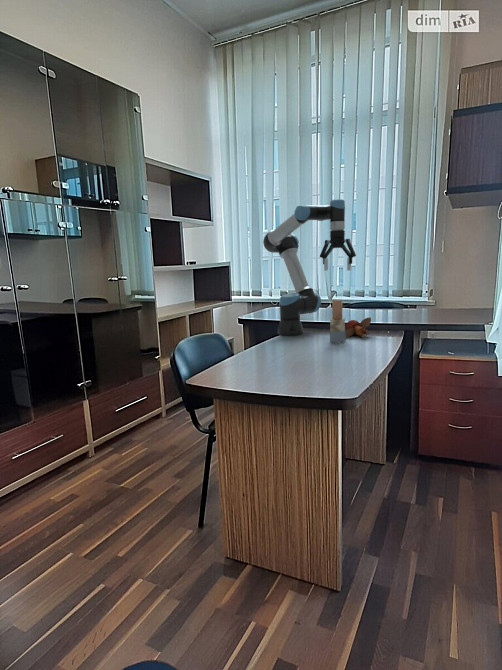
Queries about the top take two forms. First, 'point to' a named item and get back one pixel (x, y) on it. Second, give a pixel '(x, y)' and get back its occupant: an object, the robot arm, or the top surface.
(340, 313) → the tan rounded cylinder
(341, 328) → the beige cube
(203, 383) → the top surface
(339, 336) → the cube bottom
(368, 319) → the figurine
